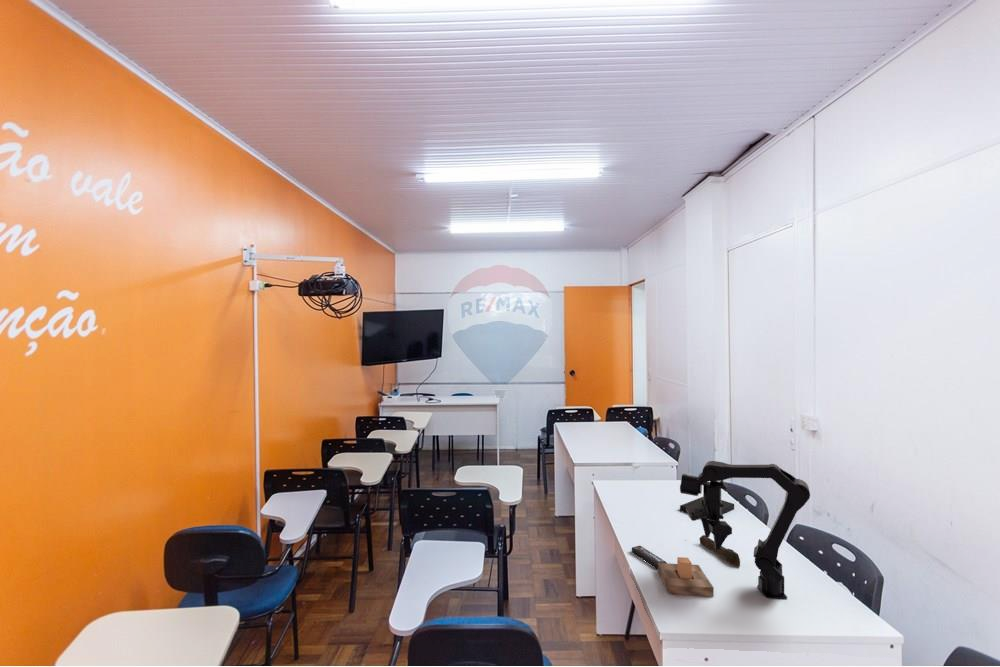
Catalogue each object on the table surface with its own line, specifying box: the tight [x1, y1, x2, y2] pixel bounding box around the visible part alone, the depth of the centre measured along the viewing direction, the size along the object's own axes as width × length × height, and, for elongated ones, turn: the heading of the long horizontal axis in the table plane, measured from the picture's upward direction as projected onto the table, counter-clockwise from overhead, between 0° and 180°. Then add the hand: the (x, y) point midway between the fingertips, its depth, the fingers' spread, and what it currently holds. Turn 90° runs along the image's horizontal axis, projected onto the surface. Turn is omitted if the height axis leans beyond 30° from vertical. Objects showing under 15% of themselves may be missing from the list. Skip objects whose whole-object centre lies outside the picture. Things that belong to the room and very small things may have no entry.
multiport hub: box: [631, 545, 668, 570], centre depth 167 cm, size 4×14×2 cm, turn 24°
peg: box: [676, 556, 693, 579], centre depth 151 cm, size 4×4×8 cm
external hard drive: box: [679, 496, 735, 516], centre depth 214 cm, size 14×23×3 cm, turn 125°
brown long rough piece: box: [699, 534, 741, 568], centre depth 170 cm, size 19×4×5 cm, turn 13°
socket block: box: [657, 562, 715, 597], centre depth 151 cm, size 14×14×3 cm
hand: (712, 542), depth 155 cm, fingers open, 9 cm apart
